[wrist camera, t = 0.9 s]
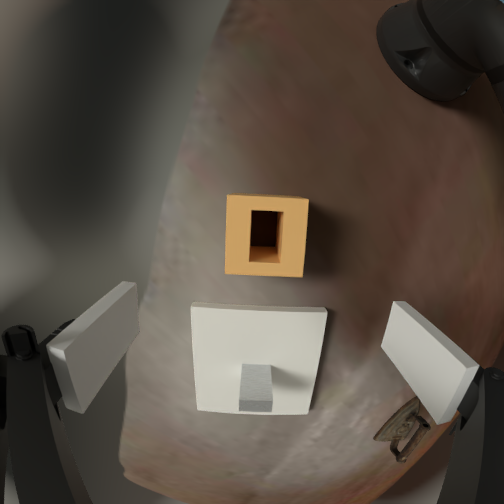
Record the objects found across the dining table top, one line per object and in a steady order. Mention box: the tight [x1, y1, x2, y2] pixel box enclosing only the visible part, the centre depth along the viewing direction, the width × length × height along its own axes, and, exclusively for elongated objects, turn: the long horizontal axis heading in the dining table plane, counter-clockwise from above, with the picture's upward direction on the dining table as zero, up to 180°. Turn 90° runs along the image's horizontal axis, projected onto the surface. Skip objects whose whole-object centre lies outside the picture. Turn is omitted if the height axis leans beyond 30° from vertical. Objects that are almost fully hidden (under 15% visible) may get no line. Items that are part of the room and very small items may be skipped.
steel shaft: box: [239, 364, 273, 412], centre depth 31 cm, size 4×2×7 cm, turn 87°
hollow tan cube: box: [225, 193, 309, 277], centre depth 28 cm, size 7×7×7 cm
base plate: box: [191, 302, 328, 415], centre depth 35 cm, size 16×17×2 cm
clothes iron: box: [373, 396, 431, 463], centre depth 36 cm, size 7×11×10 cm, turn 167°
